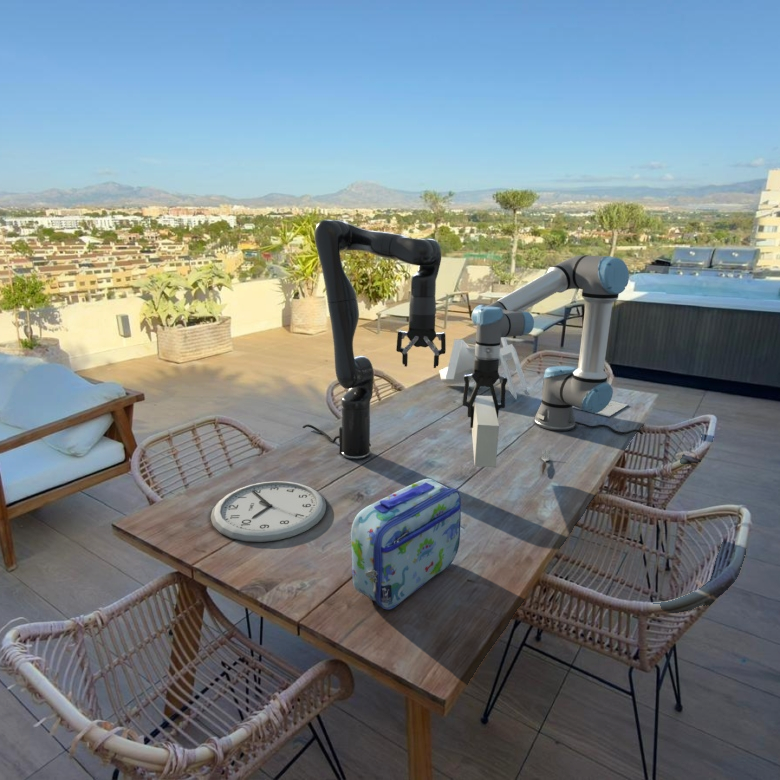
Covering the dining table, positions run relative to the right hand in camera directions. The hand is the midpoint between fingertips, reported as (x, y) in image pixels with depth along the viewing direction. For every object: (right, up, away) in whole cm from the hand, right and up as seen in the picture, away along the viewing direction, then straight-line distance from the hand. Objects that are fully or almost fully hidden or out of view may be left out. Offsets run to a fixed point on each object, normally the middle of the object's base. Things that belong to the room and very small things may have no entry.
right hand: (481, 426), depth 169 cm
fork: (+20, -13, 0) cm, 24 cm away
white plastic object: (+12, +11, +74) cm, 76 cm away
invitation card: (+62, +5, +57) cm, 84 cm away
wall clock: (-62, -20, -29) cm, 71 cm away
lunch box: (-26, -29, -56) cm, 69 cm away
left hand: (-21, +19, -15) cm, 32 cm away
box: (-1, -6, -9) cm, 11 cm away
